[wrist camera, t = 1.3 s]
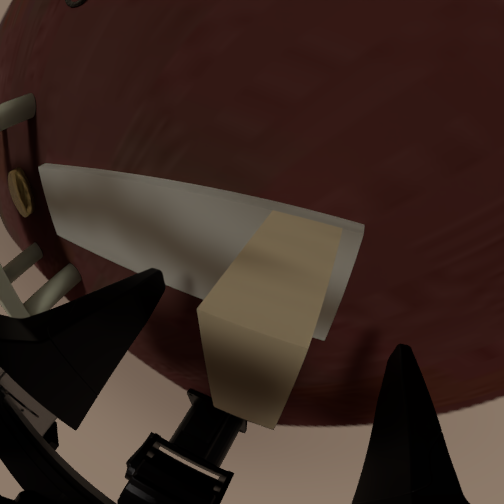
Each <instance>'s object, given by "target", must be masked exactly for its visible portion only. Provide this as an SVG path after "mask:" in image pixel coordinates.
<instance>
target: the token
mask: <svg viewBox="0 0 504 504" xmlns="http://www.w3.org/2000/svg"><path fill="white" fill-rule="evenodd" d="M8 185H9V190H10V194H11V197H12V199H13V202H14V204H15V206H16V208H17V210H18V211H19V213H20V214H21V215H22V216H23V217H27V216H29V215H30V214H32V213H33V212H34V211H35V200H34V195H33V192H32V188H31V185H30V183H29V180H28V178H27V176H26V174H25V173H24V171H23V170H22V169H21V168H20V167H17V168H15V169H14V170H12V171H10V172H9V174H8Z"/></svg>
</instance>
